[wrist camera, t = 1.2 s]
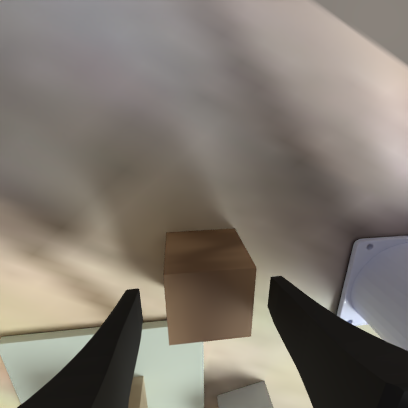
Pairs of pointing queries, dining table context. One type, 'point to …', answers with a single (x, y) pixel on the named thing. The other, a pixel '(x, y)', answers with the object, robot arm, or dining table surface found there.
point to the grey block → (246, 397)
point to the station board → (145, 366)
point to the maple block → (138, 393)
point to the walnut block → (208, 286)
